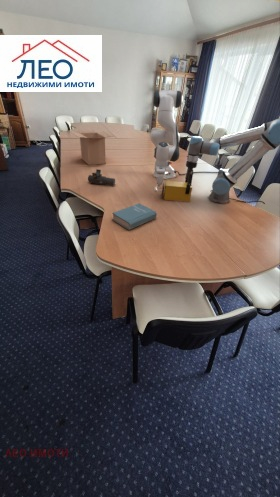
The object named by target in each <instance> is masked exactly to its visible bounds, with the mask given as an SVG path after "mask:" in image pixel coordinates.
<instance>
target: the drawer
mask: <svg viewBox="0 0 280 497" xmlns="http://www.w3.org/2000/svg"><path fill="white" fill-rule="evenodd" d="M158 189H161V190H158ZM164 189H165V181H163V182H162V184H161V186H160V187H158V186H154V193H157V192H158V193H161V199H164Z"/></svg>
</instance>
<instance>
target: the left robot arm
mask: <svg viewBox="0 0 280 497" xmlns="http://www.w3.org/2000/svg"><path fill="white" fill-rule="evenodd" d="M151 100H152V105H153V106H154V108H158V110H157V123H158V124H159V126H160V127H161V128H163V129H154V130H152V131H151V132H150V136H149V137H150V141H151V143H153V145H154V147H155V148H154V154H153V157H154V158H155V161H154V171H153V175H152V176H153V177H154V178H156V185H157V187H160V188H161V186H162V185H163V182H164V180H169V179H173V178H177V175H176V174H178V175H179V176H186V173H182V174H181V173H180V172H179V171H178V170H176V169H174V168H173V167H172V166H171V165H172V164H173V163H175V162H176V161H178V160H179V159H180V155H181V153H180V152H181V151H180V145H179V143H180V140H181V135H180V133H179V127H178V122H176V121H175V118H174V116H175V109H179V108H180V107H181V106H182V104H183V102H184V95H183V92H182V91H181V90H175V89H162V90H160V89H157V90H155V91H153V95H152V99H151ZM197 173H198V174H199V173H201V174H202V173H203V174H204V173H207V174H218V171H193V174H197Z"/></svg>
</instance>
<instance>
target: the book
mask: <svg viewBox="0 0 280 497" xmlns="http://www.w3.org/2000/svg"><path fill="white" fill-rule="evenodd" d="M157 214H158V213H157V211H156V210H154V209H152V208H149V207H148V206H146V205H144V204H142V203H139V202H138V203H136V204H133V205H130V206H126V207H125V208H121V209H120V210H119V209H118V210H116V211H114V212H112V217H113V218H112V221H113V222H115V223H117V224H118V225H119V226H121V227H123V228H125V230H128V231H130V230H132V229H135V228H137V227H139V226H141V225H143V224H146V223H149V222H151V221H152V220H155V219H156V218H157Z"/></svg>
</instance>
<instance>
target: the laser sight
mask: <svg viewBox="0 0 280 497" xmlns="http://www.w3.org/2000/svg"><path fill="white" fill-rule="evenodd" d="M101 172H102V170H101V169H97V168H96V170H95V172H92V173H91V174H89V175H88V177H87V182H88V183H90V184H95V185H101V186H102V185H103V186H106V185H108V186H115V185H116V178H113V177H106V176H104V175H103V174H102V173H101Z"/></svg>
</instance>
